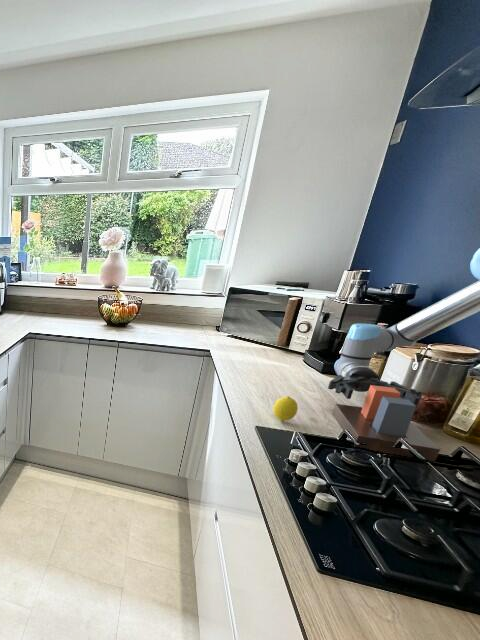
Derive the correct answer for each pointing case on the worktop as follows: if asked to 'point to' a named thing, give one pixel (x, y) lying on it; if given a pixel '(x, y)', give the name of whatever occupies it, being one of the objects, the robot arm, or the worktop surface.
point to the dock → (379, 442)
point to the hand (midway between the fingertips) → (382, 398)
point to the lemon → (285, 408)
